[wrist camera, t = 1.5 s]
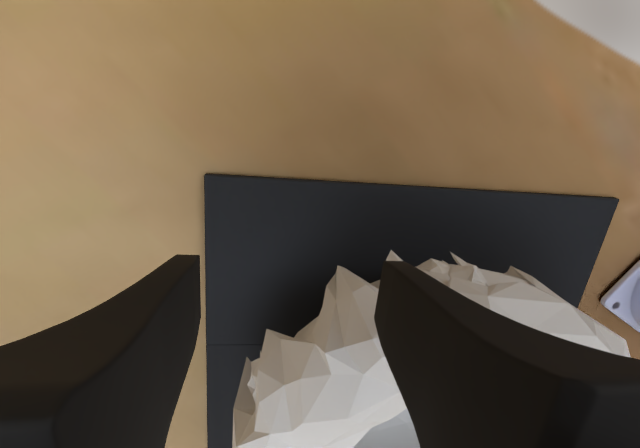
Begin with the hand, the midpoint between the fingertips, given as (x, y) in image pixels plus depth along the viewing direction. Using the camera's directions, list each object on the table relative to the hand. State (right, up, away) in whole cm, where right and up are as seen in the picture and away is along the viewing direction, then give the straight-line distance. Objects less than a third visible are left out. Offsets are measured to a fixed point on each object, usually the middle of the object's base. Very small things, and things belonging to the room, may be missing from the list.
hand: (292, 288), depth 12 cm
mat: (+5, -10, +16) cm, 20 cm away
